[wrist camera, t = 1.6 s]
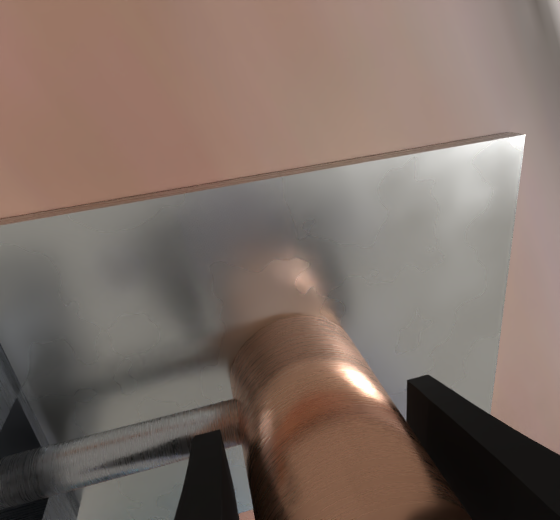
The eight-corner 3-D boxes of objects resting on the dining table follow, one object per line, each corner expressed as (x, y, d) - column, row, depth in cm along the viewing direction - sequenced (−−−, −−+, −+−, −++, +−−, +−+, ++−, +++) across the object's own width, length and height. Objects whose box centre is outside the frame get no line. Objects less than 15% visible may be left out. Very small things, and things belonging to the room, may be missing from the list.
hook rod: (352, 302, 13) (490, 476, 7) (357, 404, 14) (472, 608, 9) (-233, 435, 10) (-698, 847, 5) (-144, 538, 12) (-411, 929, 6)
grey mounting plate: (477, 428, 18) (613, 587, 12) (-146, 609, 14) (-348, 950, 9) (510, 131, 13) (769, 175, 7) (-452, 296, 9) (-1429, 643, 3)
